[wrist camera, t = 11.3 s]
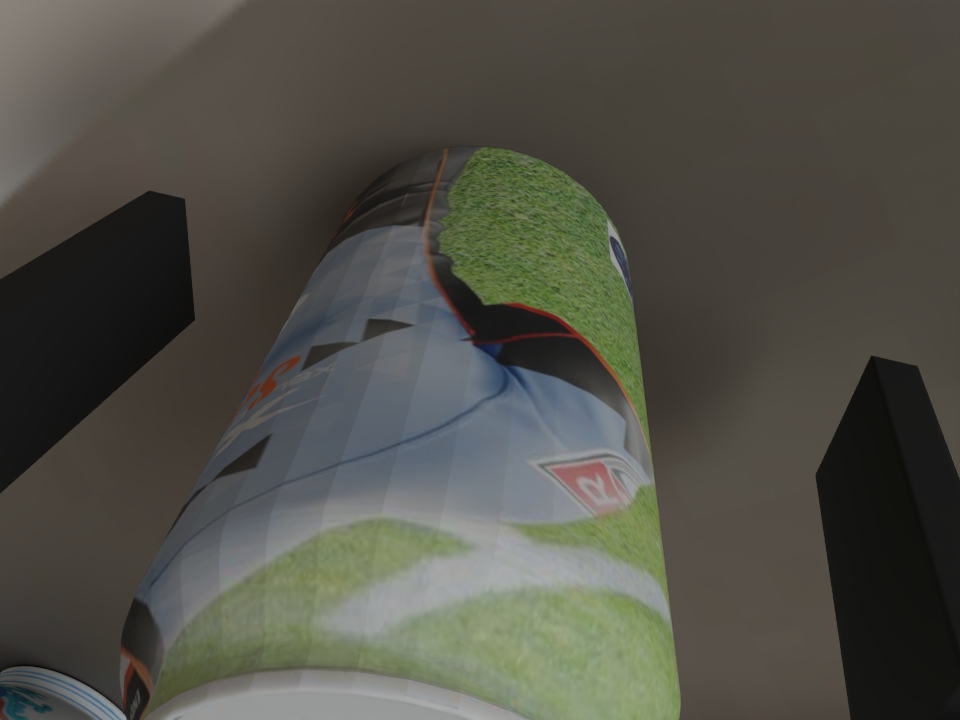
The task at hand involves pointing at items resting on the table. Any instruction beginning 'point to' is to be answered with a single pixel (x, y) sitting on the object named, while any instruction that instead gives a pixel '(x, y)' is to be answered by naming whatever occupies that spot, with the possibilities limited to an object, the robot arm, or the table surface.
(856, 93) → the table surface
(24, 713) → the chinaware
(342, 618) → the beverage can
